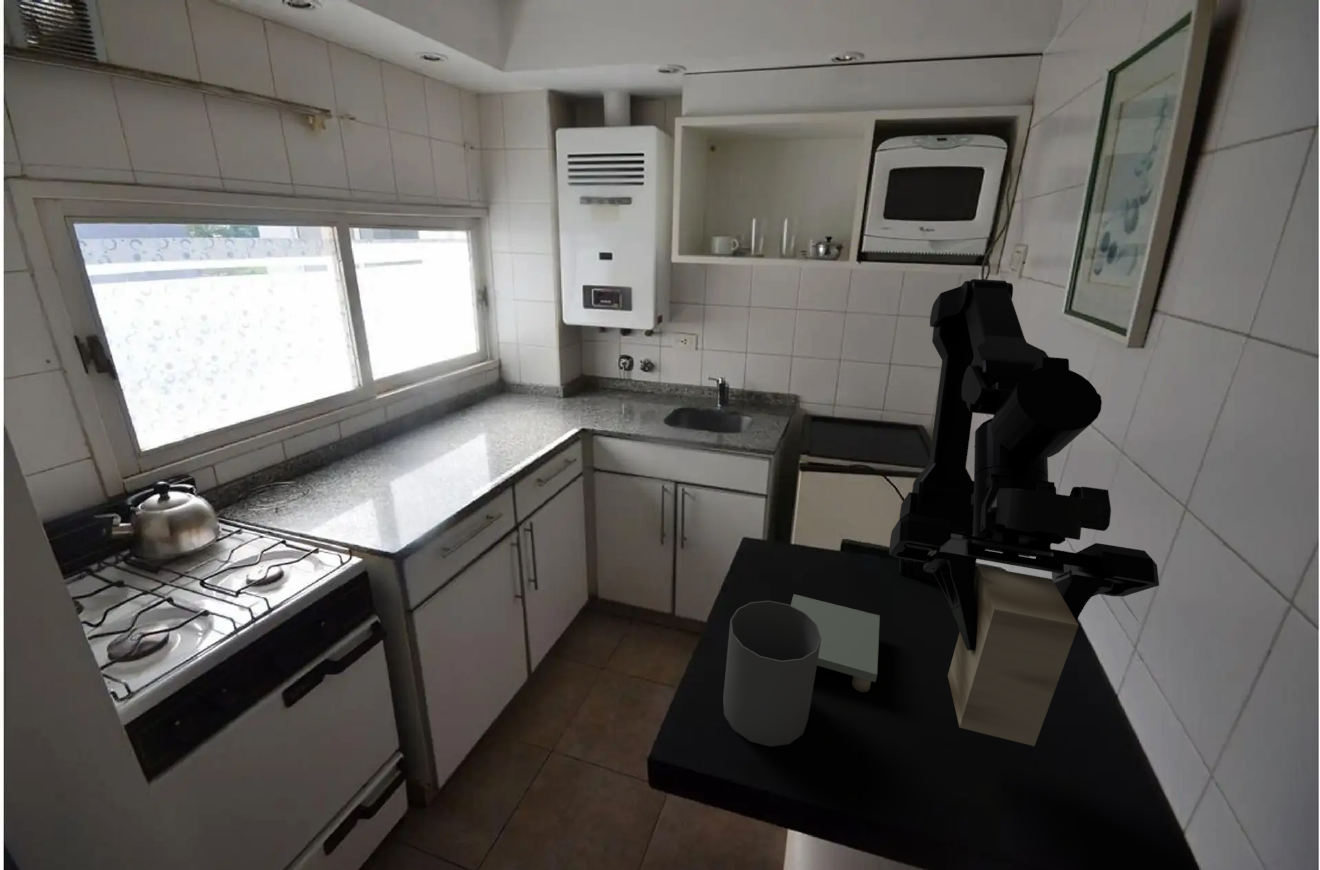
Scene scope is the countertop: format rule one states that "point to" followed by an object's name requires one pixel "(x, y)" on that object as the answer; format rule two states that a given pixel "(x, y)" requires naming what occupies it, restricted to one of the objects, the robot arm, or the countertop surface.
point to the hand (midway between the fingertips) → (1011, 658)
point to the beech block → (1011, 655)
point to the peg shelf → (845, 639)
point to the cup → (770, 672)
